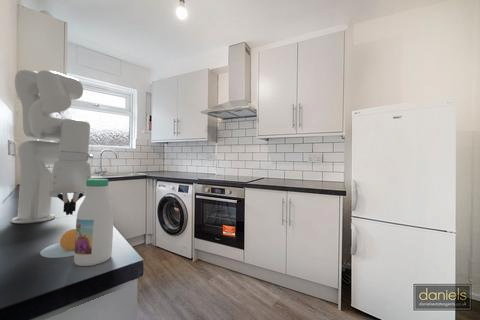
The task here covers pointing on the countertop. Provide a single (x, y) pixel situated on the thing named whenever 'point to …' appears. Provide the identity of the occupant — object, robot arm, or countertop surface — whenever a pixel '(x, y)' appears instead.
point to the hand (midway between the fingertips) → (69, 213)
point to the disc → (56, 252)
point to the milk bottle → (94, 225)
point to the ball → (68, 240)
